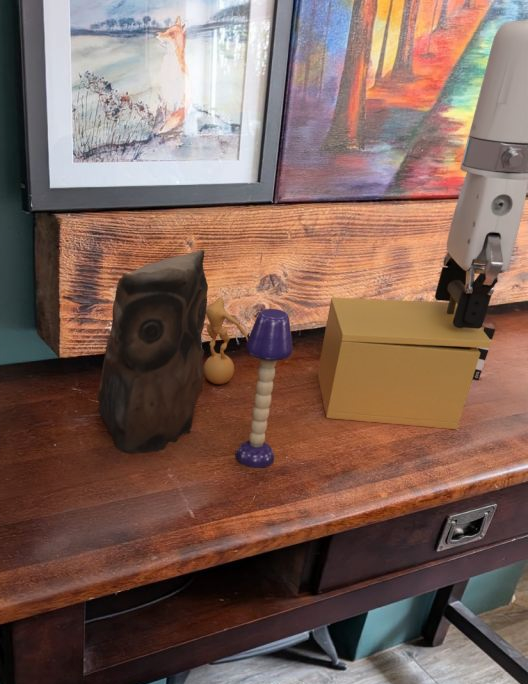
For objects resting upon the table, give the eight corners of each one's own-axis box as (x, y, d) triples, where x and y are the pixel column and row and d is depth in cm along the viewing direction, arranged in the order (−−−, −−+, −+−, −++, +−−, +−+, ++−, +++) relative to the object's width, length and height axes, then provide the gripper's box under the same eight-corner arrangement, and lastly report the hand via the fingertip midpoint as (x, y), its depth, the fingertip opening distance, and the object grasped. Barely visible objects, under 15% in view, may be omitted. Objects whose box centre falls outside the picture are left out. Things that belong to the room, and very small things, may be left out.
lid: (460, 308, 96) (469, 271, 93) (489, 348, 85) (501, 306, 82) (330, 303, 98) (335, 266, 95) (341, 341, 86) (348, 300, 84)
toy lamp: (277, 471, 80) (302, 321, 71) (234, 469, 80) (253, 319, 71) (270, 449, 84) (293, 305, 75) (229, 448, 84) (247, 303, 75)
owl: (199, 409, 92) (215, 243, 81) (208, 460, 82) (227, 278, 71) (97, 406, 92) (99, 238, 81) (93, 457, 81) (94, 272, 70)
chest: (433, 383, 102) (453, 313, 97) (456, 429, 91) (480, 352, 85) (317, 374, 103) (330, 303, 98) (326, 418, 92) (341, 341, 86)
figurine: (252, 385, 99) (263, 296, 92) (232, 401, 95) (243, 309, 88) (196, 370, 102) (204, 283, 96) (175, 385, 98) (182, 295, 91)
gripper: (564, 174, 73) (509, 341, 82) (512, 148, 87) (470, 293, 97) (486, 169, 73) (440, 336, 83) (446, 144, 88) (411, 289, 97)
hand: (456, 313), depth 90 cm, fingers open, 9 cm apart
